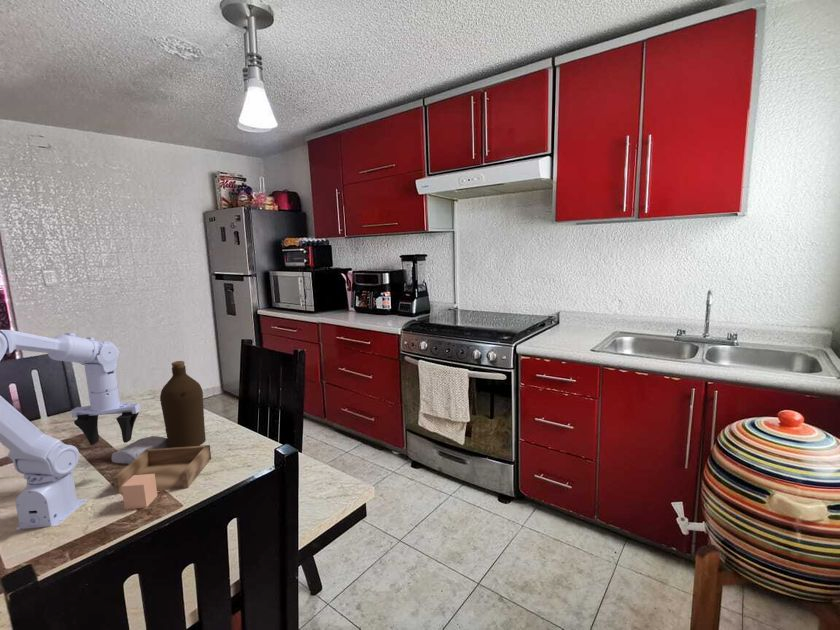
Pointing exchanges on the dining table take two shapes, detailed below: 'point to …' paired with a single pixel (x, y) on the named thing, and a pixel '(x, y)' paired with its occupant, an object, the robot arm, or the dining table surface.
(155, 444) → the stone block
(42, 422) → the dining table surface
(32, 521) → the robot arm
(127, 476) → the box
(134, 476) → the block
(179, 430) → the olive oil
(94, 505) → the dining table surface
